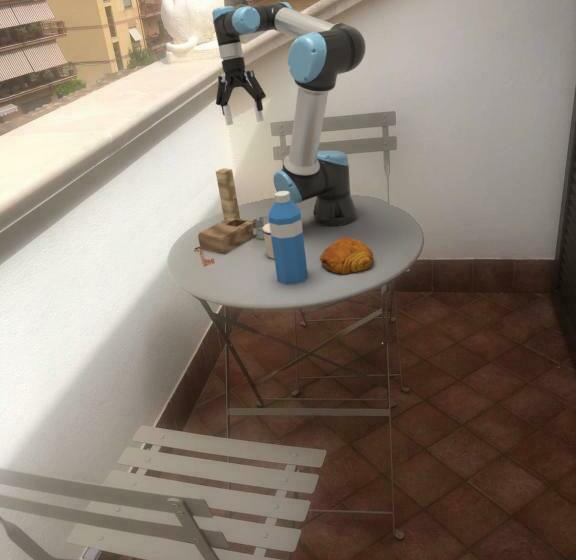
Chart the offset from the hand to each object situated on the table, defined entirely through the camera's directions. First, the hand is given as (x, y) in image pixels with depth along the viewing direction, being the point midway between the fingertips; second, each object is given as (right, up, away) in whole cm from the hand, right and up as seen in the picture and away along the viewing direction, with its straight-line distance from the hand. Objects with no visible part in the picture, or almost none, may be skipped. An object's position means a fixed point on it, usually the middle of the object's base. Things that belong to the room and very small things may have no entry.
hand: (244, 123), depth 199 cm
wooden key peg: (-5, -34, +7) cm, 35 cm away
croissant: (+32, -50, -31) cm, 67 cm away
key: (-11, -47, -15) cm, 51 cm away
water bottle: (+16, -53, -35) cm, 66 cm away
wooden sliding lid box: (-5, -42, -7) cm, 42 cm away
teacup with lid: (+12, -46, -18) cm, 51 cm away
